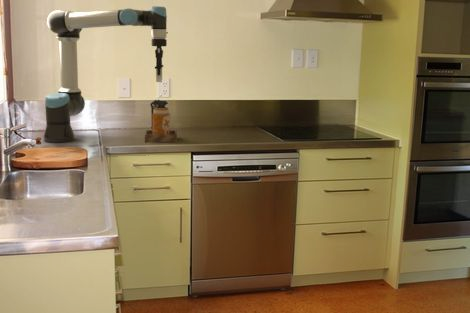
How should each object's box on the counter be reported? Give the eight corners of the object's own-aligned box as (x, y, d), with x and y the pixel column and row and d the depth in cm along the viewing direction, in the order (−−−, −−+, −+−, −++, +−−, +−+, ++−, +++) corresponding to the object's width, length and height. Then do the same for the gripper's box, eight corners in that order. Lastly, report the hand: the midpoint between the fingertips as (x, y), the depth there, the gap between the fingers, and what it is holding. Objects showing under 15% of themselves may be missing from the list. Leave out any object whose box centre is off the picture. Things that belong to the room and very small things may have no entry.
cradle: (145, 142, 277) (145, 134, 276) (146, 137, 291) (146, 130, 290) (176, 142, 279) (176, 134, 278) (176, 137, 293) (176, 130, 292)
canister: (161, 140, 278) (161, 101, 274) (146, 137, 285) (145, 99, 280) (173, 138, 285) (173, 99, 281) (158, 135, 292) (157, 98, 288)
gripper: (166, 38, 262) (166, 83, 267) (166, 38, 286) (166, 79, 291) (150, 38, 261) (150, 82, 266) (152, 38, 285) (152, 78, 290)
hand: (159, 80), depth 278 cm, fingers open, 13 cm apart
